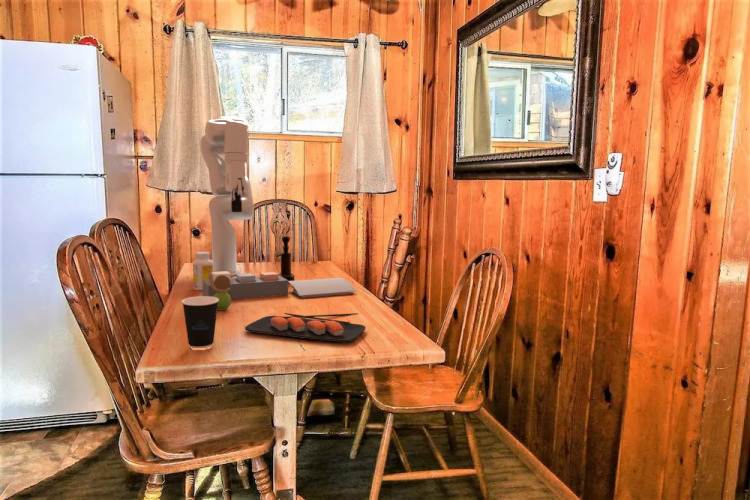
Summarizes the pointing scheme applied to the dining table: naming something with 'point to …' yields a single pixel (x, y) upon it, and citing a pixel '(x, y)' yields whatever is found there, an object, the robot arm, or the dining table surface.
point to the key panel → (251, 288)
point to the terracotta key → (269, 276)
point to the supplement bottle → (201, 269)
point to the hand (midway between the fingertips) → (236, 211)
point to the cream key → (216, 274)
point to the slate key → (245, 277)
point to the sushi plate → (308, 327)
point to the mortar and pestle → (286, 260)
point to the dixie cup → (200, 320)
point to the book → (322, 287)
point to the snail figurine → (221, 290)
